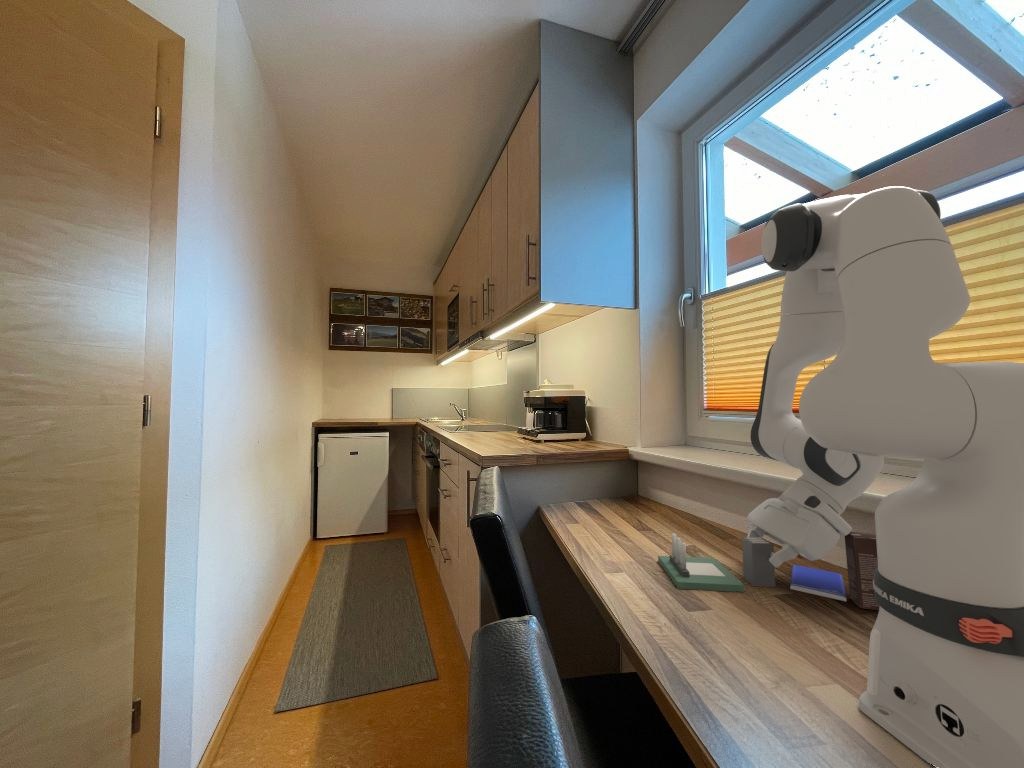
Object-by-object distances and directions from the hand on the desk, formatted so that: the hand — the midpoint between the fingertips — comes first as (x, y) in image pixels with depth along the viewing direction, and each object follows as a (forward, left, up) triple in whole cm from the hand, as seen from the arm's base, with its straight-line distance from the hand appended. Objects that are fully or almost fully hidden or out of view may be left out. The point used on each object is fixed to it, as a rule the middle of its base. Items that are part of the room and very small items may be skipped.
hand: (757, 554), depth 78 cm
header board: (+2, +11, -5) cm, 12 cm away
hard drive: (+1, -11, -6) cm, 13 cm away
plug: (0, 0, -5) cm, 5 cm away
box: (-8, -15, -5) cm, 18 cm away
